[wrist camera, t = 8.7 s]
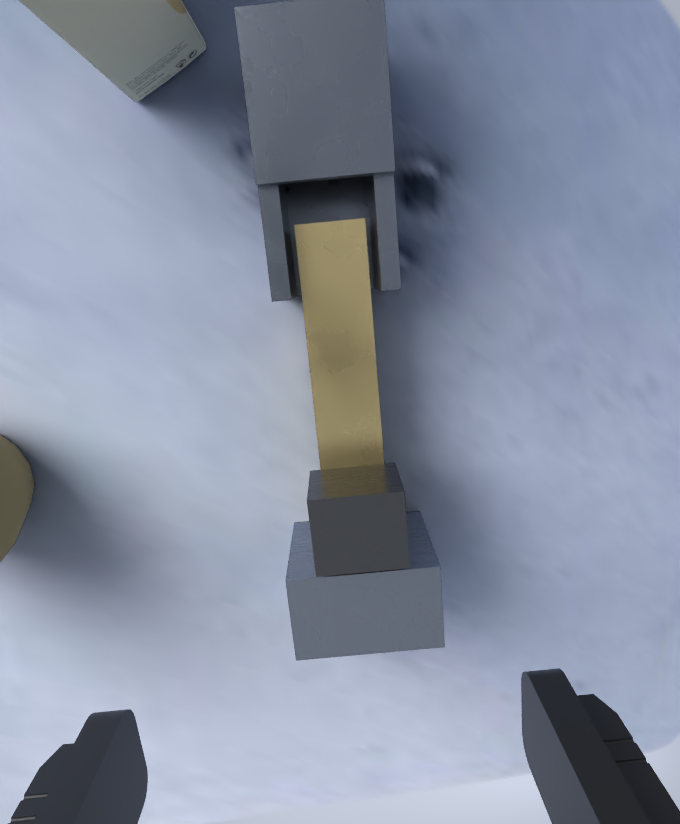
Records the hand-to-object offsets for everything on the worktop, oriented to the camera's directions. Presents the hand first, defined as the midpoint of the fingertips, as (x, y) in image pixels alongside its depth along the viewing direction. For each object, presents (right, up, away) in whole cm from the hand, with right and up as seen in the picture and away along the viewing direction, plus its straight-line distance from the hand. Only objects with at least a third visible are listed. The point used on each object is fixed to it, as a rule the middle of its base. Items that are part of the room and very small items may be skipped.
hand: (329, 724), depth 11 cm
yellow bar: (+1, +7, +18) cm, 19 cm away
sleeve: (0, +18, +15) cm, 23 cm away
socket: (+1, -1, +20) cm, 20 cm away
